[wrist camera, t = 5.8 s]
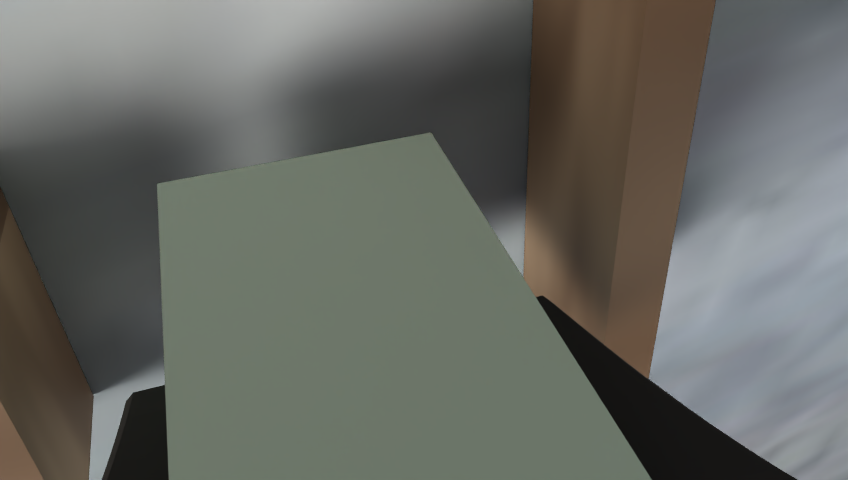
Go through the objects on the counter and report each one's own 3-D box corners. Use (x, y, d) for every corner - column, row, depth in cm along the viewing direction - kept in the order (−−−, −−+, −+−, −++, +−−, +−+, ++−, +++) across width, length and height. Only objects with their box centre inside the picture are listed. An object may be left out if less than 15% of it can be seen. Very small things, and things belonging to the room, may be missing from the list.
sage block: (440, 327, 14) (628, 737, 9) (216, 381, 13) (270, 870, 8) (430, 132, 12) (684, 531, 6) (156, 183, 11) (177, 691, 5)
